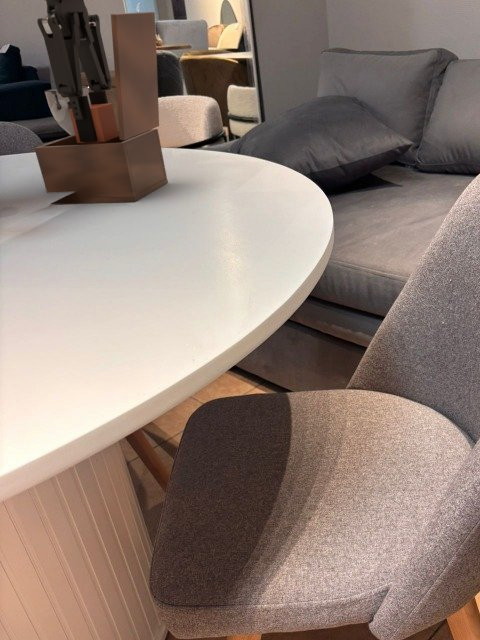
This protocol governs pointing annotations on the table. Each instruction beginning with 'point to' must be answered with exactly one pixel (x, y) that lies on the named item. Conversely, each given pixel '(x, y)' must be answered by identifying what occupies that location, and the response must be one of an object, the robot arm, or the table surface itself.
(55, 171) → the chest
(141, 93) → the lid
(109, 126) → the block
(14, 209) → the table surface
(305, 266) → the table surface
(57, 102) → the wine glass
